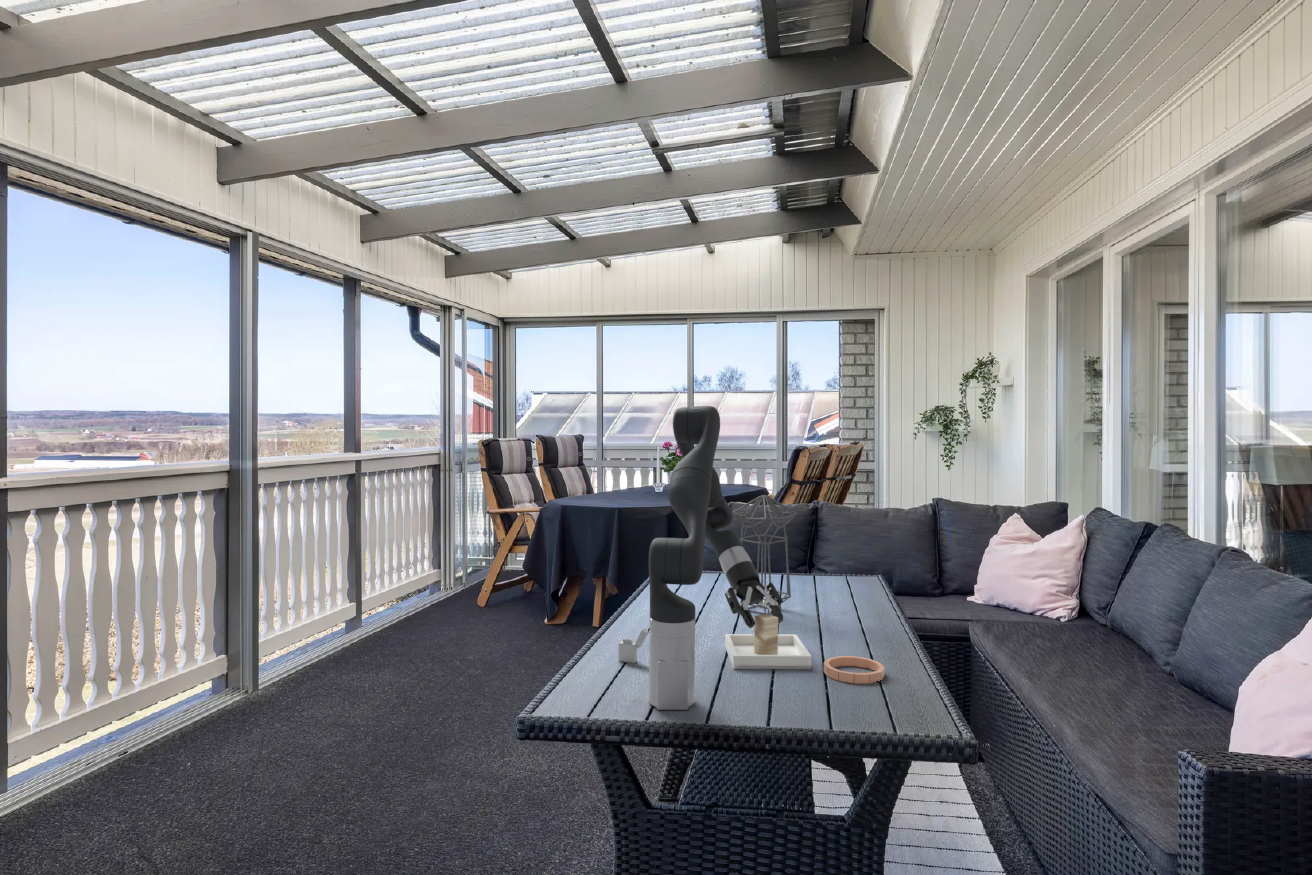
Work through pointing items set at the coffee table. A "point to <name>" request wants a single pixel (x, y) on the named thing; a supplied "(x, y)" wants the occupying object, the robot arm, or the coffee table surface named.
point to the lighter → (631, 647)
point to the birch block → (766, 635)
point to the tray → (788, 656)
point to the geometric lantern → (754, 508)
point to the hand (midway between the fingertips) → (766, 623)
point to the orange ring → (854, 677)
